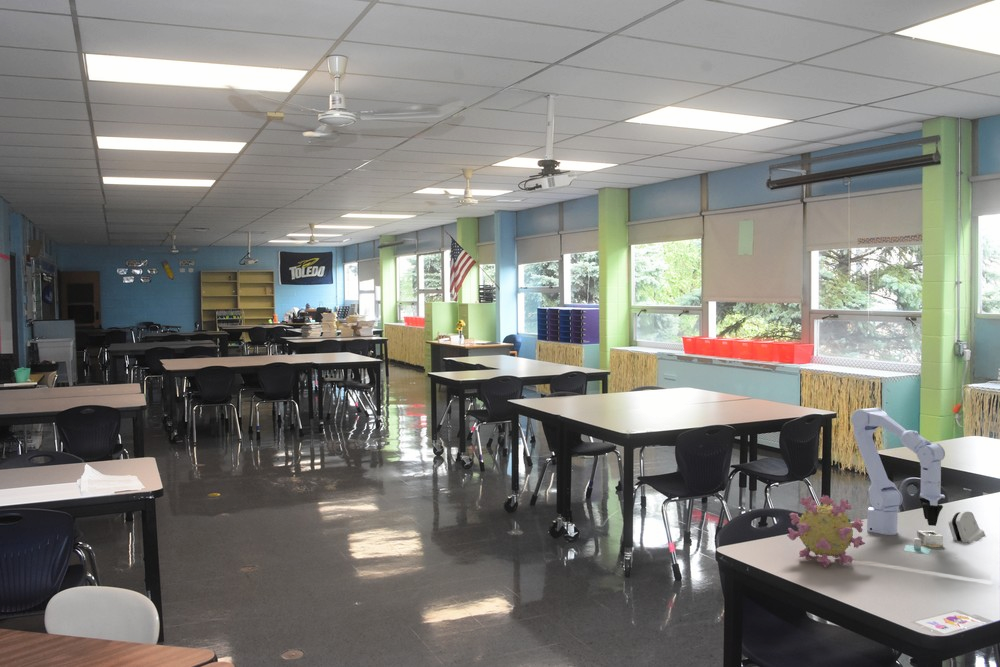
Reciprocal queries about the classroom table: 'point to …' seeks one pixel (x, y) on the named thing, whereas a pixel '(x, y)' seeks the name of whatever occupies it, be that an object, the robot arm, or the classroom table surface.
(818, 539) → the educational model
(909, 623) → the classroom table surface
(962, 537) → the hinge
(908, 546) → the stand
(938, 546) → the hub
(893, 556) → the classroom table surface
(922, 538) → the hollow square metal tube
